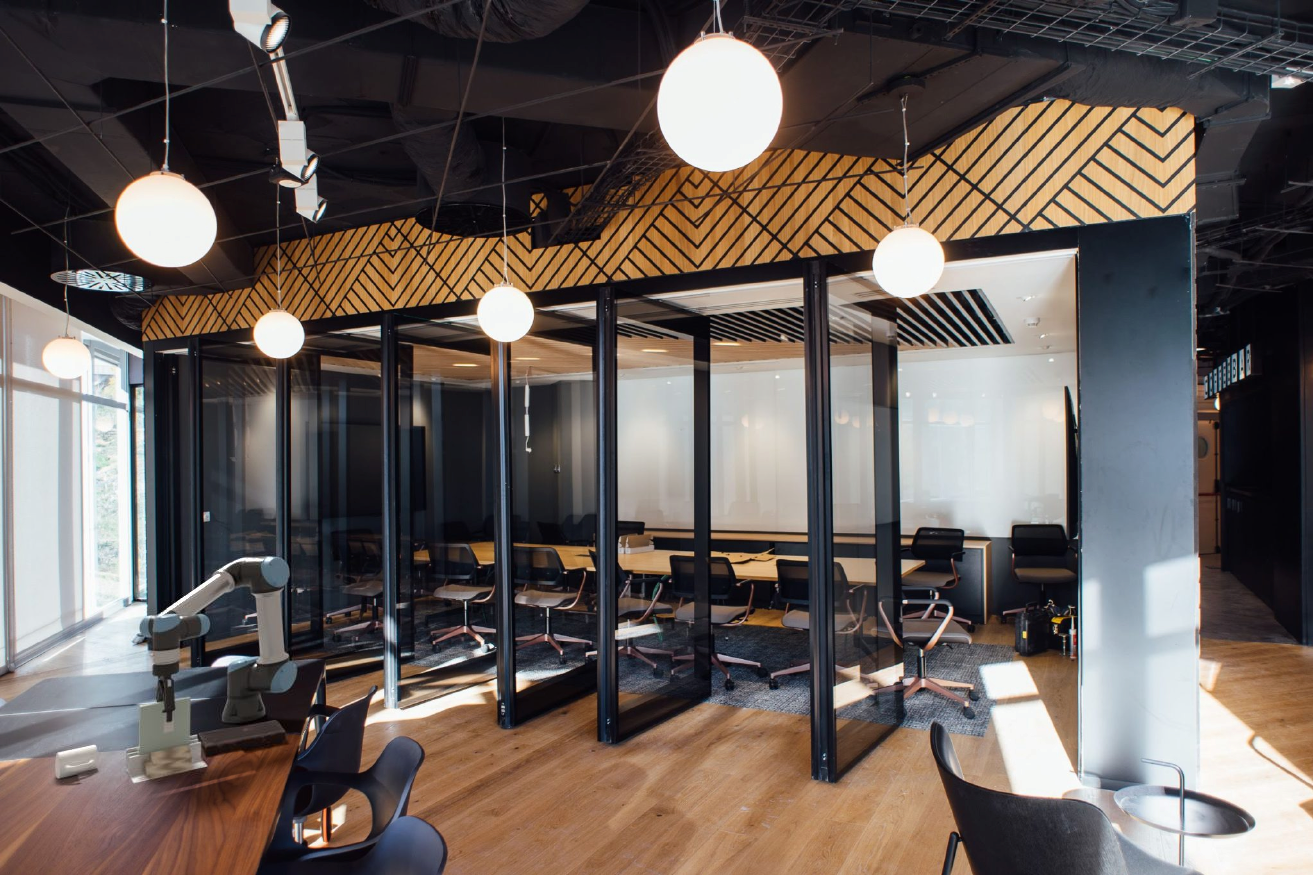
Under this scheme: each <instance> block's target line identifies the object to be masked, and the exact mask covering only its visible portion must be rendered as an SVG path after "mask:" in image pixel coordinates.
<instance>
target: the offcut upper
mask: <svg viewBox="0 0 1313 875" xmlns="http://www.w3.org/2000/svg"><path fill="white" fill-rule="evenodd" d="M189 758H190V748H189V746H188V745H185V746H180V747H175V748H171V749H166V750H161V751H157V752H152V753H151V763H152V765H153V766H157V765H161V764H166V763H170V762H175V761H179V760H184V759H189Z"/></svg>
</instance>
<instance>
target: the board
mask: <svg viewBox="0 0 1313 875" xmlns="http://www.w3.org/2000/svg"><path fill="white" fill-rule="evenodd" d="M175 707H176V709H175V710H174V731H171V732H166V733H164V732H163V730H164V713H162V711H163V710H165V709H164V701H162V702H157V701H156V702H151V703H147V704H141V705H139V710H138V711H139V714H138V717H139V718H138V747H139V755H141V754H146V753H150V752H155V751H160V750H165V749H169V748H174V747H179V746H183V745H188V744H190V736H191V697H190V696H186V697H179V698H175Z"/></svg>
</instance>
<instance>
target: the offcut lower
mask: <svg viewBox="0 0 1313 875" xmlns="http://www.w3.org/2000/svg"><path fill="white" fill-rule="evenodd" d="M189 767H192V757H191V756H190V758H189V759H184V760H179V761H175V762H170V763H166V764H161V765H157V766H153V765H152V763H151V762H148V763H145V773H146V775H147V777H150V776H154V775H159V774H163V773H167V772H172V771H176V770H180V769H185V768H189Z"/></svg>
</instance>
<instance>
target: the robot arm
mask: <svg viewBox="0 0 1313 875" xmlns="http://www.w3.org/2000/svg"><path fill="white" fill-rule="evenodd" d="M289 578H290V568H289V565H288V563H287V561H285V560H284V559H283V558H281V557H279V556H271V555H270V556H268V555H267V556H244V557H241V558H238V559H235V560H232V561H230V562H229V563H227V564H225V565H224V566H222V567H220V568H219V569H217V570H216V571H214V572H213V573H212V575H211V577H210V578H209V579H207V580H206V581H205V582H203V583H202V584H200V585H198V586H197V587H196V588H195V589H193V590H192V591H191V592H188V593H187V594H186V595H184V596H183V597H182V598H180V599H179V600H177V601H175V602H174V603H172V605H170V606H169V607H167V608H166V609H164V610H162V612H160V613H158V614H156V615H155V614H151V615H147V616H145V617H144V618H143V619H142V620H141V621H140V624H139V627H138V628H139V632H140V635H142V637H146V638H152V653H151V654H150V657H151V658H152V663H153V664H152V665H151V666H152V669H151V670H152V676H153V677H157V685H156V694H155V701H156V703H157V702H162V701H164V709H165V710H163V711H162V713H164V730H163V732H164V733H166V732H171V731H174V710H175V709H176V707H175V699H176V698H175V679H173V677H172V675H176V674H178V673H179V672H180V661H179V660H180V658H181V656H180V651H181V650H180V648H181V646H180V644H181V643H180V642H181V641H185V640H189V639H192V638H193V639H194V638H199V637H201V636H203V635H205V634H207V633H208V631H209V630H210V629H211V628H210V627H211V622H210V619H209V617H208V616H207V615H205V614H202V613H200V614H199V612H200V611H201V610H203V609H204V608H205V607H206V608H207V606H208V605H210V604H211V603H212V602H214V601H215V600H217V599H218V598H219V597H221V596H222V595H224V594H225V593H230V592H232V591H234V590H235V589H238V588H242V587H250V594H251V595H253V596H254V597H255V604H256V617H257V618H256V619H257V629H258V630H257V632H258V643H259V644H258V645H259V656H251V657H244V658H241V659H236V660H234V661H233V660H232V661H231V662H230V663H229V664H227V665H228V666H227V673H226V676H227V677H226V679H227V682H226V683H227V686H226V687H227V694H226V695H227V699H226V703H225V706H224V709H223V712H222V713H221V721H222V722H223V723H225V724H238V723H239V724H240V723H247V722H250V721H251V722H252V721H255V720H259V719H262V718H263V717H264V716H265V715H266V708H265V705H264V703H263V699H262V696H261V693H273V694H277V693H284V692H287V691H288V690H289V689H290V688H291V687H292V686H293V685H294V682H295V680H296V678H297V676H298V675H297V673H298V667H297V665H296V664H295V663H294V662H293V661H290V655H289V653H287V652H286V651H285V644H284V630H283V628H284V627H283V618H282V617H283V616H282V614H283V613H282V604H281V592H282V591H283V590H284V586H285V585H286V584H287V583H288V581H289Z"/></svg>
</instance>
